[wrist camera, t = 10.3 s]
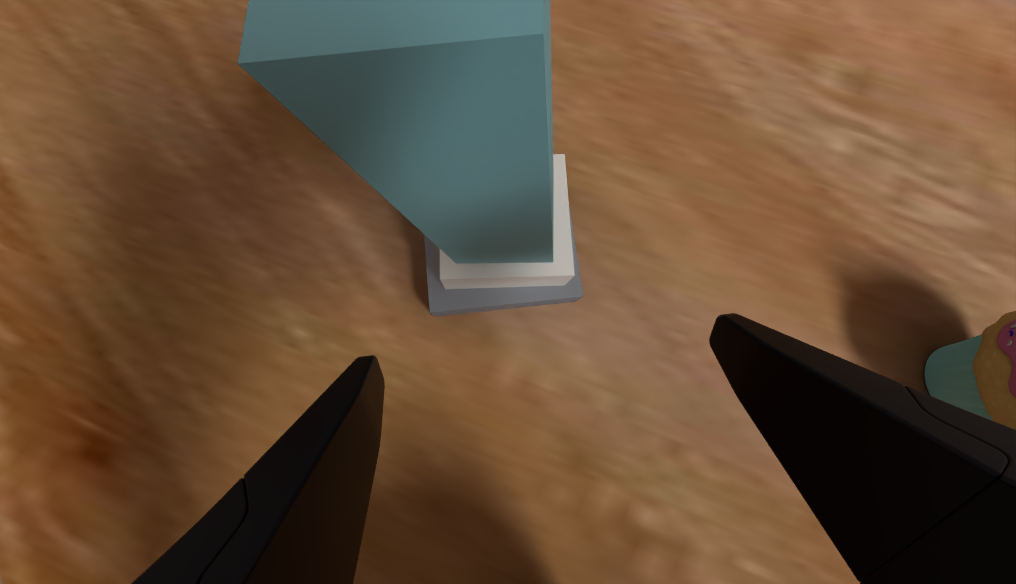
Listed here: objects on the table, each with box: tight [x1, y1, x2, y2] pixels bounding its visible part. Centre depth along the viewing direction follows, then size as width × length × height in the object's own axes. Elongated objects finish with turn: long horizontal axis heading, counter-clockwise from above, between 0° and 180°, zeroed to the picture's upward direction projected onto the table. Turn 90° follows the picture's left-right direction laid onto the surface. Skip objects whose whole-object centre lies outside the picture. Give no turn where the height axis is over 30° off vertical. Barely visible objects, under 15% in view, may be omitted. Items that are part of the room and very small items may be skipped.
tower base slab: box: [424, 209, 583, 317], centre depth 23 cm, size 9×9×2 cm
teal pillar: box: [238, 0, 554, 264], centre depth 12 cm, size 5×5×13 cm
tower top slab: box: [440, 154, 575, 289], centre depth 20 cm, size 7×7×2 cm
